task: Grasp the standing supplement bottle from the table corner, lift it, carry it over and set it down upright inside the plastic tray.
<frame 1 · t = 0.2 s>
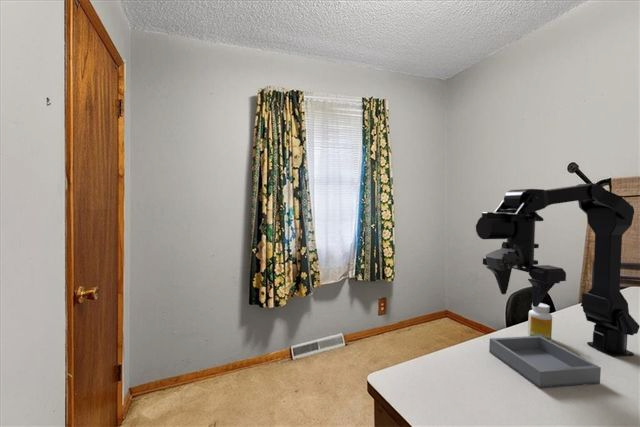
hand: (518, 299, 72), 14 cm above the table, fingers open, 9 cm apart
tray: (539, 366, 67), on the table
supplement bottle: (539, 338, 82), on the table
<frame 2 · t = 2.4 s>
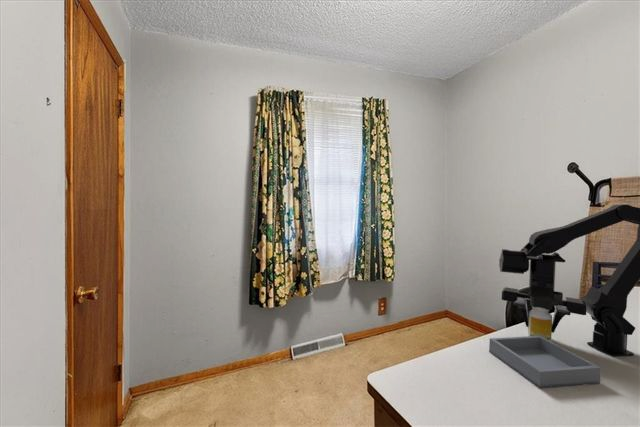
hand: (539, 329, 82), 3 cm above the table, fingers closed on supplement bottle, 5 cm apart
supplement bottle: (539, 338, 82), on the table, touching gripper
when the fingers open (5 cm above the table, at t = 7.7 s): supplement bottle drops 1 cm, resting on tray.
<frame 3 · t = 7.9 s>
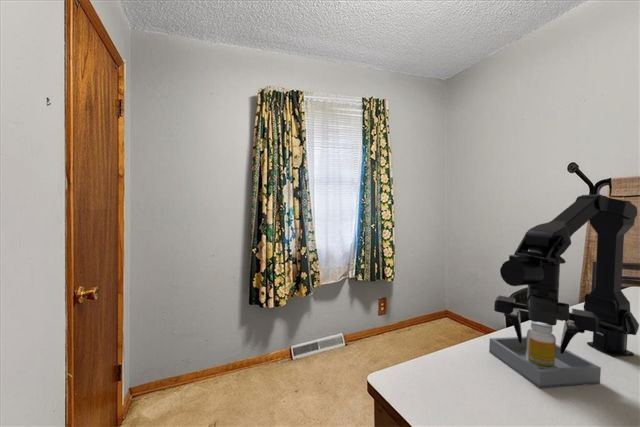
hand: (540, 347, 67), 5 cm above the table, fingers open, 7 cm apart
supplement bottle: (539, 364, 67), resting on tray
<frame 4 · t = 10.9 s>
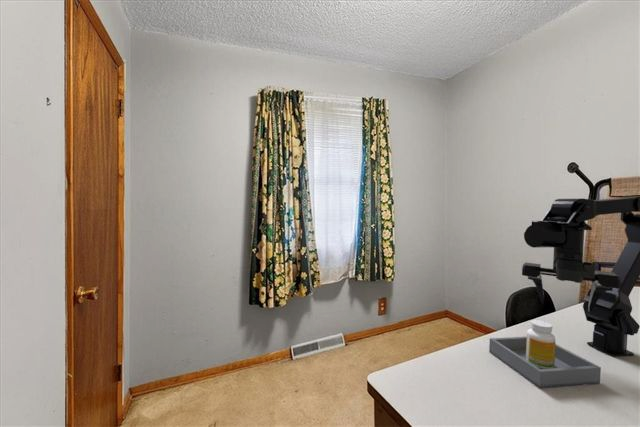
hand: (565, 307, 73), 12 cm above the table, fingers open, 9 cm apart
nothing on the table moved.
at the end: supplement bottle inside the target area on the tray (0.1 cm from its centre), point 0.4 cm above the tray's base; supplement bottle tilted 0°; the gripper is holding nothing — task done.
